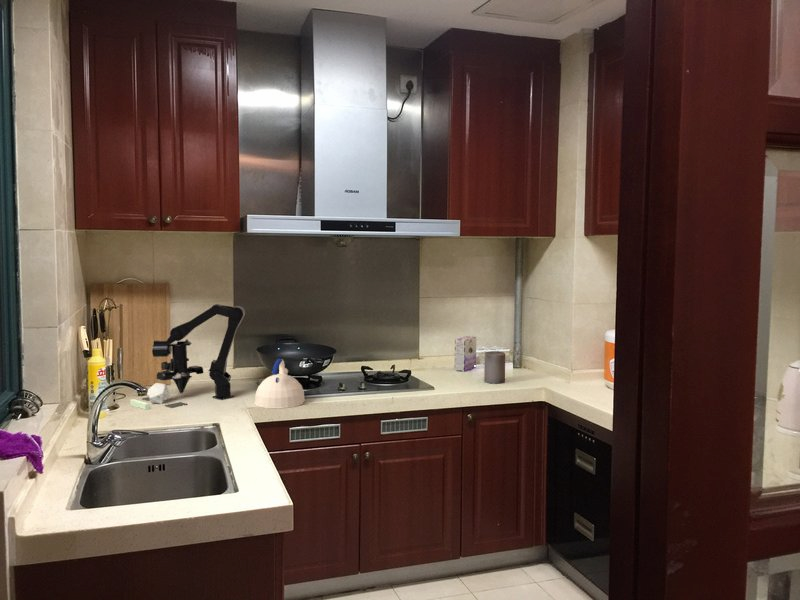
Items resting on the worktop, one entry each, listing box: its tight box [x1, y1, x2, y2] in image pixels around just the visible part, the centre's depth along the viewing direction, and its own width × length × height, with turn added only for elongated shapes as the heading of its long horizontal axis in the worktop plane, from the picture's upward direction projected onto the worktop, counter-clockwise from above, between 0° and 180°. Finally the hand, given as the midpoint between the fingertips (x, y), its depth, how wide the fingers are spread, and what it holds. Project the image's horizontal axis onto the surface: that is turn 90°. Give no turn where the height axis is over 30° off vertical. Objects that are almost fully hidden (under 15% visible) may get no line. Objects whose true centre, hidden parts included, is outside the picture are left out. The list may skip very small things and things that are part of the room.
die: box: [146, 382, 171, 405], centre depth 262 cm, size 8×9×10 cm
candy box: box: [454, 335, 477, 373], centre depth 332 cm, size 14×6×16 cm, turn 147°
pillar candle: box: [483, 350, 506, 385], centre depth 301 cm, size 10×10×15 cm
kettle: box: [254, 358, 306, 410], centre depth 262 cm, size 20×21×18 cm
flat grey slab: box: [129, 396, 188, 410], centre depth 261 cm, size 23×15×2 cm, turn 50°
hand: (181, 393), depth 269 cm, fingers closed
